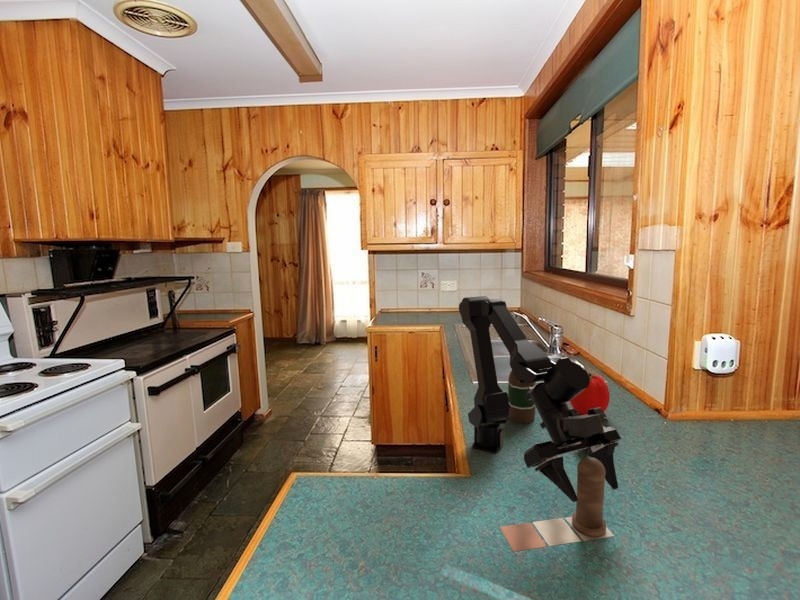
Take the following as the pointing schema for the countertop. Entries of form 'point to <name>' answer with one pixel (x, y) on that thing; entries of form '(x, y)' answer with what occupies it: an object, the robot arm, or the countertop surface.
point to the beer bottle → (520, 401)
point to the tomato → (592, 396)
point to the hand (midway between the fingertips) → (596, 495)
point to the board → (544, 534)
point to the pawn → (590, 498)
